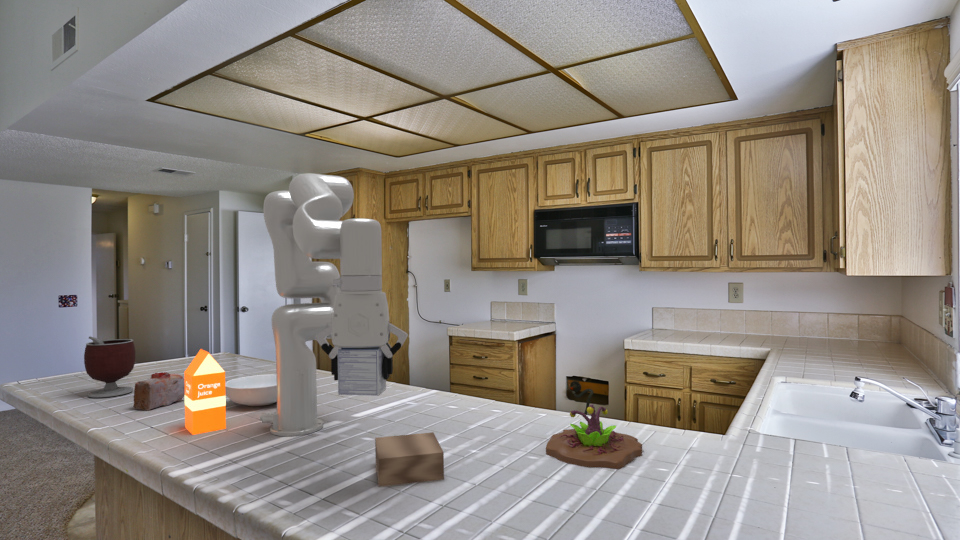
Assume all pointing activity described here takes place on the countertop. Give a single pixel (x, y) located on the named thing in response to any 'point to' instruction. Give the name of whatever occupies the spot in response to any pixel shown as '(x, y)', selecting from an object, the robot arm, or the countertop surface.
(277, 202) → the robot arm
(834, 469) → the countertop surface
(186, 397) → the orange juice
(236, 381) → the serving bowl
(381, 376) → the medicine box
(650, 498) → the countertop surface
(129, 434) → the countertop surface
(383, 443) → the walnut block
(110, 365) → the mate gourd
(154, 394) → the food item
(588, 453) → the plant
